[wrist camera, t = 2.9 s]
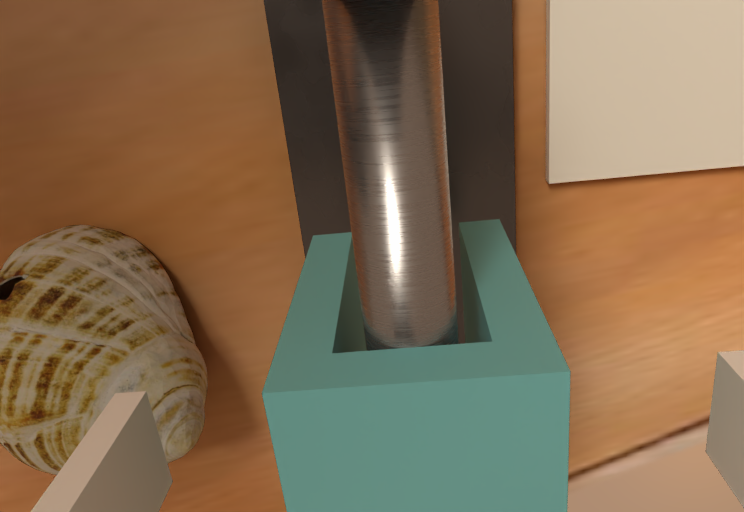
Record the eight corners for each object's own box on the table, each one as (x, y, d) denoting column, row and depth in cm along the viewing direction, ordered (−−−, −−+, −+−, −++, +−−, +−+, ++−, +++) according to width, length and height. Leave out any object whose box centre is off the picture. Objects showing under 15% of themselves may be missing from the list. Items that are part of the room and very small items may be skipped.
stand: (256, -83, 23) (-22, -231, 7) (504, -114, 22) (752, -345, 7) (339, 440, 32) (291, 848, 17) (514, 428, 31) (630, 842, 16)
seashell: (-15, 198, 27) (-39, 319, 19) (207, 225, 32) (262, 331, 24) (-35, 391, 30) (-62, 562, 22) (168, 388, 35) (206, 527, 27)
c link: (312, 235, 19) (261, 393, 11) (498, 218, 18) (570, 371, 11) (334, 374, 21) (302, 585, 13) (503, 361, 20) (565, 572, 13)
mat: (546, -87, 22) (550, -89, 22) (806, -119, 22) (817, -122, 21) (545, 179, 26) (548, 183, 26) (765, 159, 26) (774, 162, 25)
